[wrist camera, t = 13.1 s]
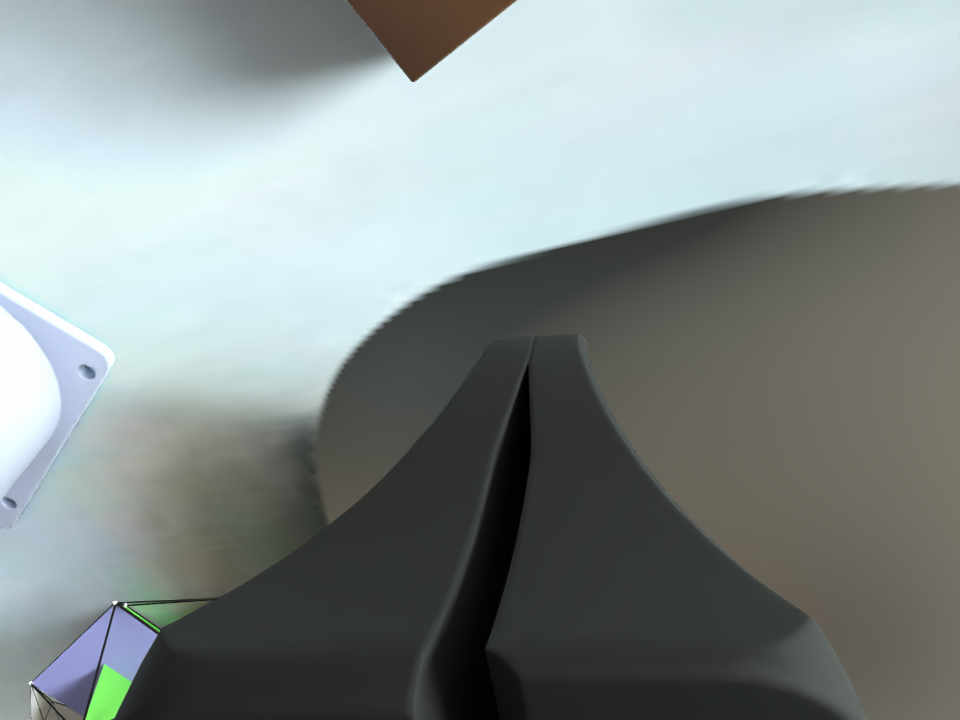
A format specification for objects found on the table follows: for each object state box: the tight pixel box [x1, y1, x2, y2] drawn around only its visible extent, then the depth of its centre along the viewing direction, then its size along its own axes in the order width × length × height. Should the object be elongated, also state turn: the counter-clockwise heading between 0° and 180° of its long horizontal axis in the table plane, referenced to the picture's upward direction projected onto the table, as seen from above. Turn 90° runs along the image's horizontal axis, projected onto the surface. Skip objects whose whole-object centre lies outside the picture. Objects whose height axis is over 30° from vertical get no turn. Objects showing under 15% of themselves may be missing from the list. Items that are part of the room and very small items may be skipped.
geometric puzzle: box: [28, 598, 218, 720], centre depth 30 cm, size 7×7×8 cm
